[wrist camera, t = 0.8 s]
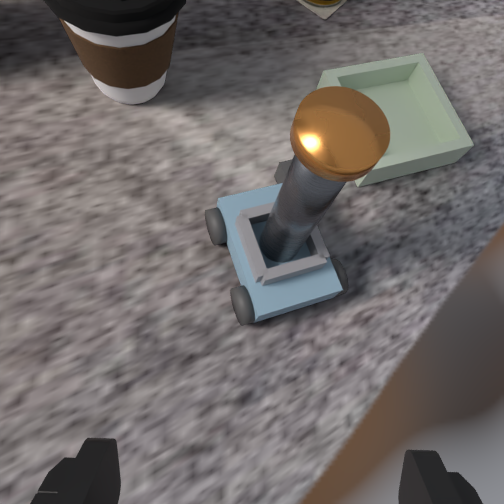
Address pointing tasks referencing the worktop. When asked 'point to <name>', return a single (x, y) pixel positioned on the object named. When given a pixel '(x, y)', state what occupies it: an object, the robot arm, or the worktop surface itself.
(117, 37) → the coffee cup
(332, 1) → the condiment
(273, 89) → the worktop surface
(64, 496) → the robot arm
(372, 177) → the tray
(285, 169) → the block
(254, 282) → the trolley
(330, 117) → the pin
